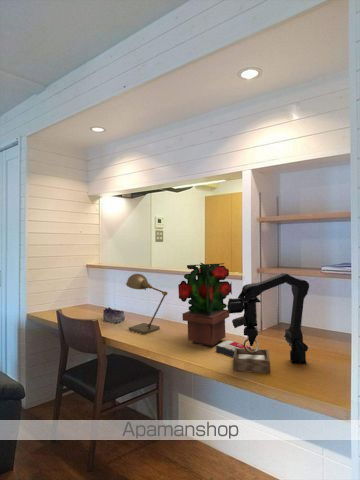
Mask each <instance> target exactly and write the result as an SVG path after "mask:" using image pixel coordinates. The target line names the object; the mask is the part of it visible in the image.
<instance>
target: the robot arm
mask: <svg viewBox="0 0 360 480" xmlns="http://www.w3.org/2000/svg"><path fill="white" fill-rule="evenodd" d="M285 283H286V284H288V285H289V286H291V293H292V296H293V297H292V298H293V299H292V308H291V316H290V317H291V318H290V325H289V327H288V328H285V330H284V332H285V333H284V336H283V337H284V338H285V341H286V342H287V344H288V345H289V347H290V350H289V359H290V362H291V363H292V364H299V365H305V364H308V363H307V360H306V358H307V357H306V355H307V353H306V352H308V350H309V347H308V345H307V344H306V343H304V336H303V331H302V321H303V320H302V319H303V312H304V311H303V309H304V303H305V301H304V300H305V298H306V296H307V295H308V292H309V289H310V283H309V282H308V281H307V280H305V279H302V278H297V277H294V276H292V275H290V274H288V273H284V272H283V273H280V274H279V275H276V276H273V277H270V278H268V279H265V280H263V281H260V282H255V283H254V282H253V283H247V284H244V285H243V286H242V288H241V291H240V293H239V295H238V296H237V297H236V298H228V301H227V304H226V305H227V306H226V308H227V310H228V312H229V315H230V314H241V313H243V315H242V316H239V317H236V318H233V319H232V321H231V322H232V327H234V329H237V328H238V327H242V326H243V327H244V328H243V336H244V337H245V336H246V337H248V339H249V340H248V343H249V347H253V345H254V343H255V339H256V340H257V336H259V330H258V329H259V328H258V320H257V319H258V318H257V316H258V315H257V303H261V302H262V301H261V300H260V299H259V298H258V296H260V295H261V294H262V293H264V292H265V291H267V290H270V289H273V288H275V287H278V286H281V285H284V284H285Z"/></svg>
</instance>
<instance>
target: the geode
mask: <svg viewBox="0 0 360 480" xmlns="http://www.w3.org/2000/svg"><path fill="white" fill-rule="evenodd" d="M102 313H103V314H102V317H103V318H102V319H103V321H104V322H109V323H113V324H120V323H121V322H122V321H125V319H126V315H125V312H124V310H118V309H112V308H111V307H110V306H109V307H108V308H106V307H105V308H104V309H103V312H102Z"/></svg>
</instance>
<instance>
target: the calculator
mask: <svg viewBox="0 0 360 480" xmlns="http://www.w3.org/2000/svg"><path fill="white" fill-rule="evenodd" d="M235 348H244V343H240V342H236V341H232V340H229V339H228V340H226V341H224V342H223V341H222V342H221V343H217V344H215V352H216V353H219V354H224V355H226V356H229V357H232V358H234V351H235ZM246 348H247V349H252V347H251V346H250V345H246ZM244 349H245V348H244Z"/></svg>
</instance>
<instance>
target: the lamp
mask: <svg viewBox="0 0 360 480" xmlns="http://www.w3.org/2000/svg"><path fill="white" fill-rule="evenodd" d="M126 281H127V282H126V283H125V286H126V287H128V288H130V289H133V290H144V291H146V290H147V289H151V290H154V291H158V292H159V293H161V295H163V296H162V297H161V300H160V302H159V303H158V305H157V308H156V309H155V312H154V314H153V316H152V318H151V320H150V322H149V323H146V322H141V323H140V324H136V325H132V326H129V327H128V331H129V330H130V331H129V332H132V331H134V332H133V333H136V332H137V333H136V334H139V333H141V334H140V335H143V334H144V336H146V335H149V334H150V333H154V332H157V331H160V329H161V327H160V326H159V325H155V324H152V323H153V321H154V319H155V318H156V315H157V314H158V311H159V309H160V307H161V305H162V303H163V302H164V300H165V297H166V296H167V295H168V294H169V293H168V291H163V290H162V289H161V290H160V289H158V288H156V287H153V286H152V285H151V284H150V282H148V279H147V277H146V276H145V275H144V274H141V273H134V274H131V275H130V276H129V277H128V278H127V279H126ZM148 333H149V334H148ZM145 334H146V335H145Z"/></svg>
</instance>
